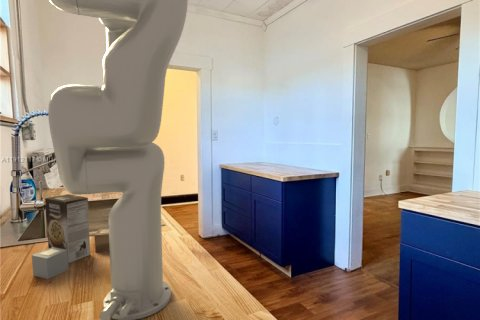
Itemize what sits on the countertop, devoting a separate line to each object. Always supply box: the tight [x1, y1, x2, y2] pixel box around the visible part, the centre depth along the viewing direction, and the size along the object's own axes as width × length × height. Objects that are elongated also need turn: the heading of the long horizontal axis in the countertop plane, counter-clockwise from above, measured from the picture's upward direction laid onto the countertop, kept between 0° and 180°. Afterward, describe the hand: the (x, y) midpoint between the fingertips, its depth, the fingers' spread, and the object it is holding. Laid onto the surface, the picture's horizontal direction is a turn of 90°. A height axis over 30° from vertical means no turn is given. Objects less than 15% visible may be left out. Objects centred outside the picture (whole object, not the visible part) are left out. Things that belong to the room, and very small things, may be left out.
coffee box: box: [44, 193, 91, 264], centre depth 75 cm, size 9×6×16 cm
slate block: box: [31, 247, 69, 280], centre depth 67 cm, size 5×5×5 cm
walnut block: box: [93, 228, 110, 253], centre depth 81 cm, size 5×5×5 cm
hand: (125, 125), depth 77 cm, fingers closed
